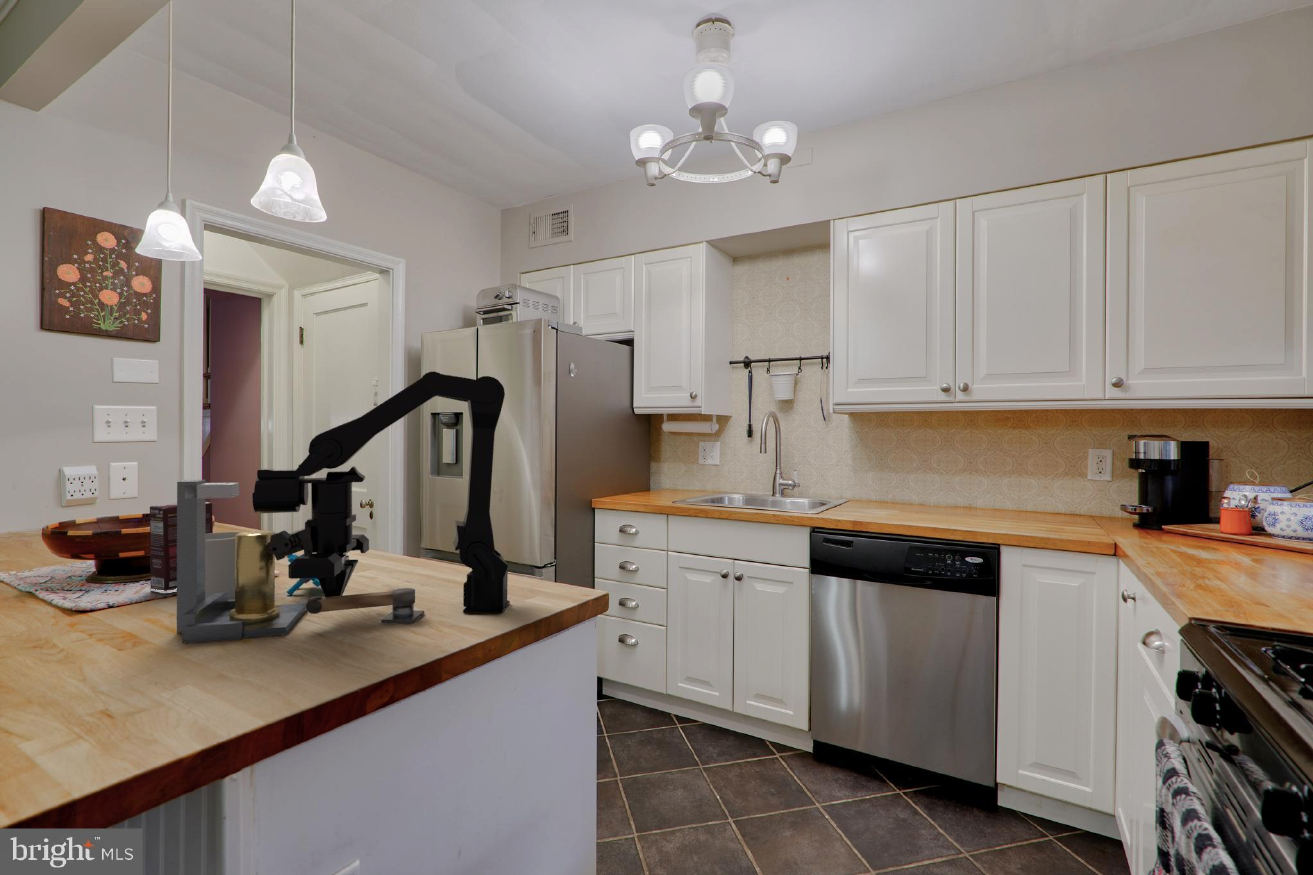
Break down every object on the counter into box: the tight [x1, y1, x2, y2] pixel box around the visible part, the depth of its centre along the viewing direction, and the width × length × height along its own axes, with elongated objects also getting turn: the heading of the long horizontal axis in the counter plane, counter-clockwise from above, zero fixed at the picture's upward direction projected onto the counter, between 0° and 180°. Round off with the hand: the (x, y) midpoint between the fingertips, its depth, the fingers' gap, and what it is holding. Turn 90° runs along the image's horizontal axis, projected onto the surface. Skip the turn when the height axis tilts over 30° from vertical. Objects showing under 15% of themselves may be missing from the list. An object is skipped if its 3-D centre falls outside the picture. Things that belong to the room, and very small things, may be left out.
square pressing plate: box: [380, 603, 425, 625], centre depth 101 cm, size 5×5×2 cm
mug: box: [205, 531, 243, 600], centre depth 113 cm, size 12×8×11 cm
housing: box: [229, 530, 280, 624], centre depth 96 cm, size 7×7×13 cm
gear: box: [286, 553, 322, 596], centre depth 115 cm, size 11×6×10 cm
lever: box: [305, 587, 416, 615], centre depth 98 cm, size 16×4×3 cm, turn 114°
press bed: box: [176, 479, 308, 644], centre depth 96 cm, size 16×14×22 cm
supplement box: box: [149, 501, 214, 591], centre depth 116 cm, size 9×5×16 cm, turn 157°
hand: (332, 608), depth 99 cm, fingers closed
